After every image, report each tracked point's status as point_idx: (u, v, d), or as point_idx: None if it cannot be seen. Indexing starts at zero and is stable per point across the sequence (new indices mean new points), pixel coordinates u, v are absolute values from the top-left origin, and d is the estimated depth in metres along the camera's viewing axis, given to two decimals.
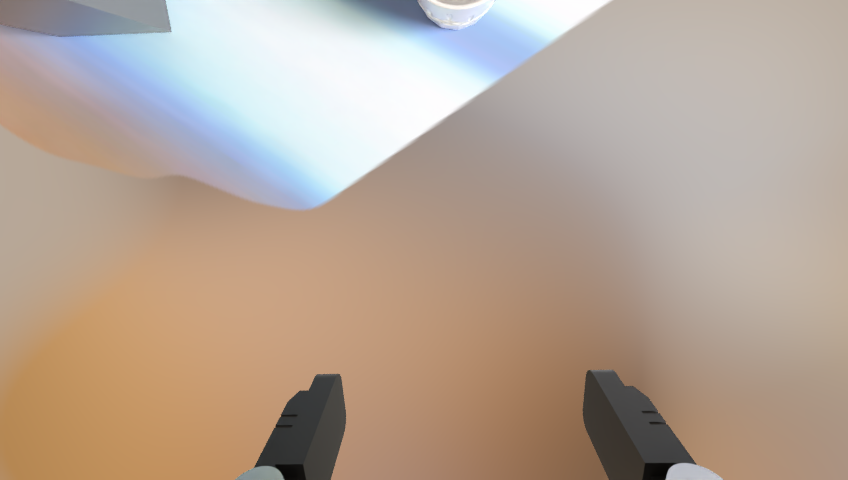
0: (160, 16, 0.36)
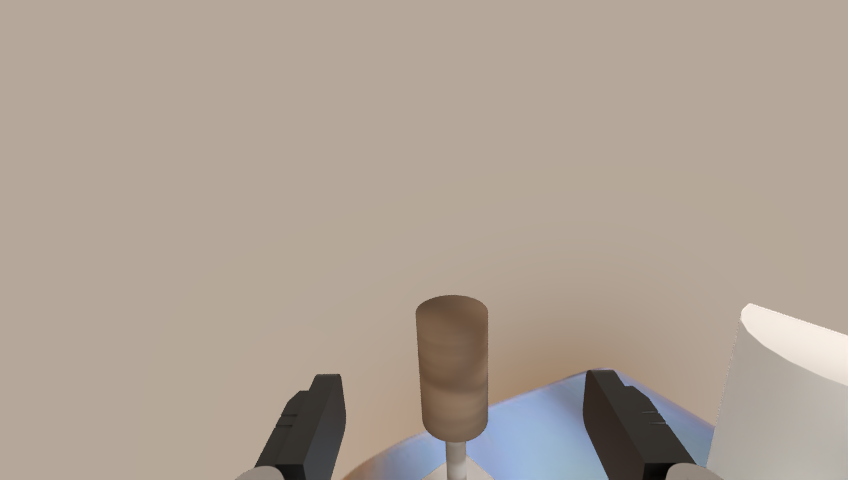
0: None
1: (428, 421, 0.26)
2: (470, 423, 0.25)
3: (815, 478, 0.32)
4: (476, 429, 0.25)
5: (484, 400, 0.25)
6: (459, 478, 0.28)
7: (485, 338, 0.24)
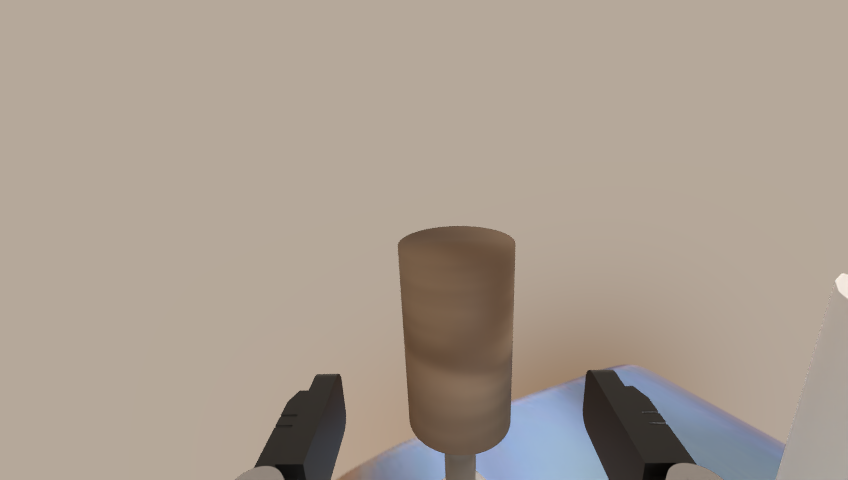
0: None
1: (417, 421, 0.16)
2: (485, 424, 0.15)
3: None
4: (494, 434, 0.16)
5: (507, 388, 0.16)
6: None
7: (511, 284, 0.15)
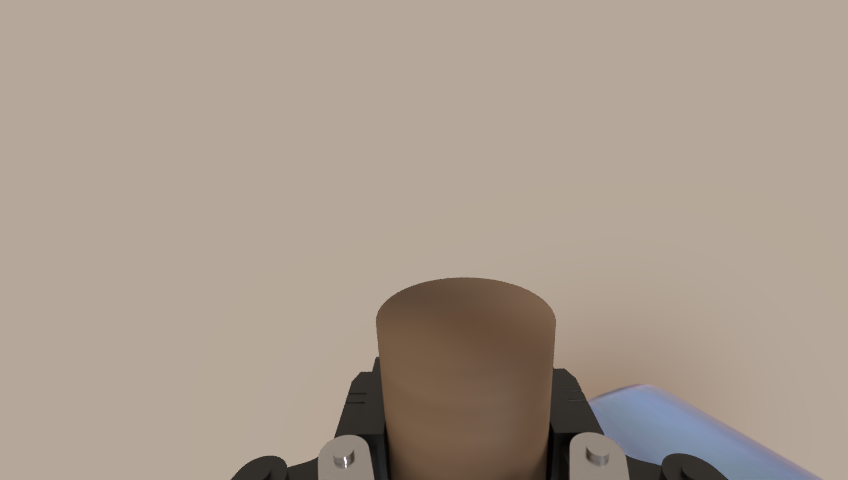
0: None
1: None
2: None
3: None
4: None
5: None
6: None
7: (550, 381, 0.09)
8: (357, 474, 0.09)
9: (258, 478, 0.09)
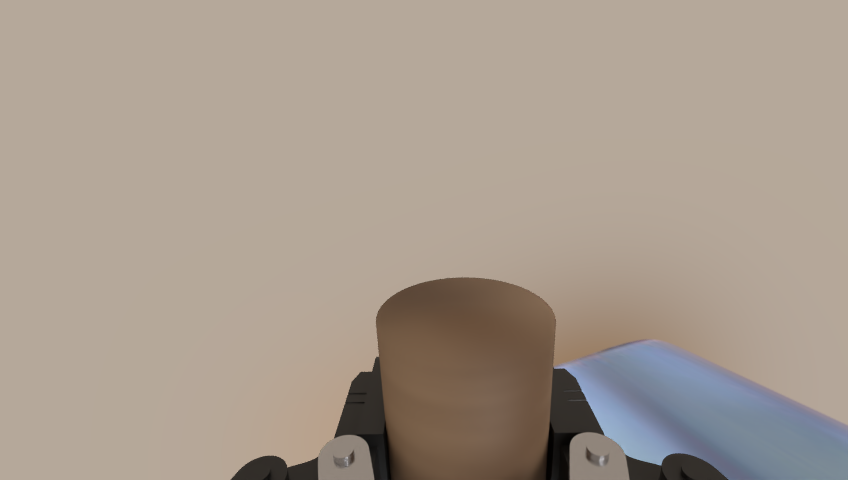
0: None
1: None
2: None
3: None
4: None
5: None
6: None
7: (550, 381, 0.09)
8: (357, 474, 0.09)
9: (258, 478, 0.09)
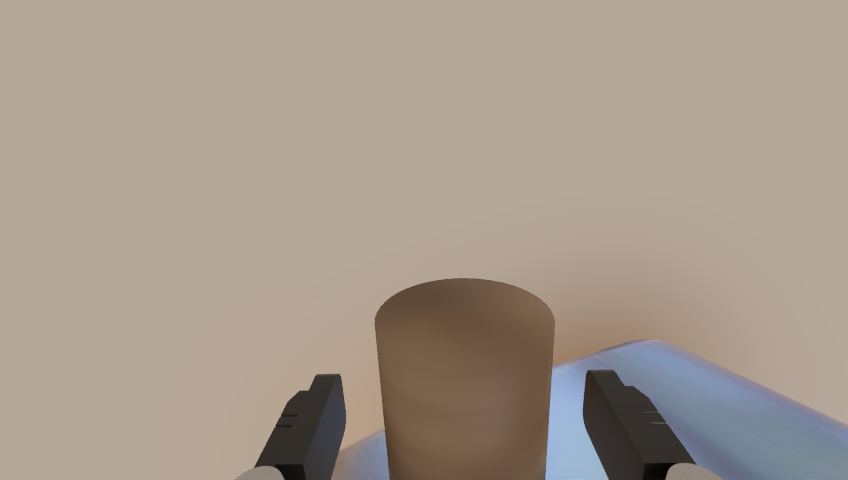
0: None
1: None
2: None
3: None
4: None
5: None
6: None
7: (549, 383, 0.09)
8: None
9: None
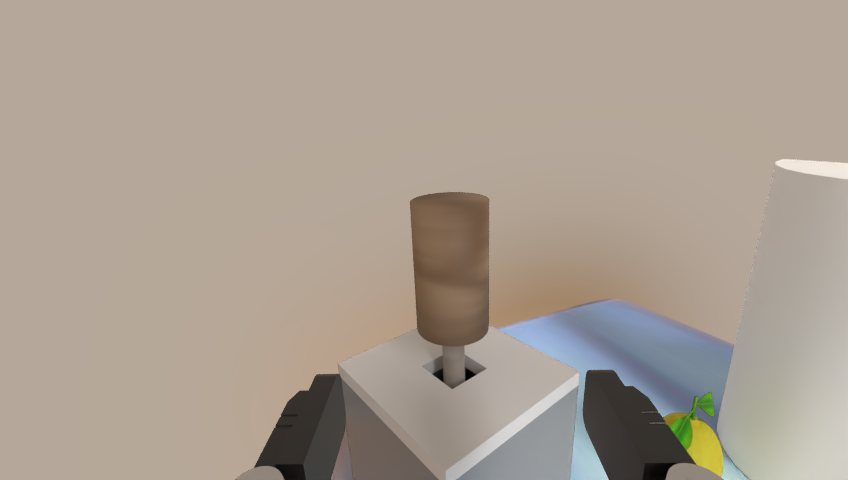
0: None
1: (423, 325, 0.23)
2: (469, 324, 0.23)
3: None
4: (476, 333, 0.23)
5: (485, 301, 0.23)
6: None
7: (486, 227, 0.22)
8: None
9: None
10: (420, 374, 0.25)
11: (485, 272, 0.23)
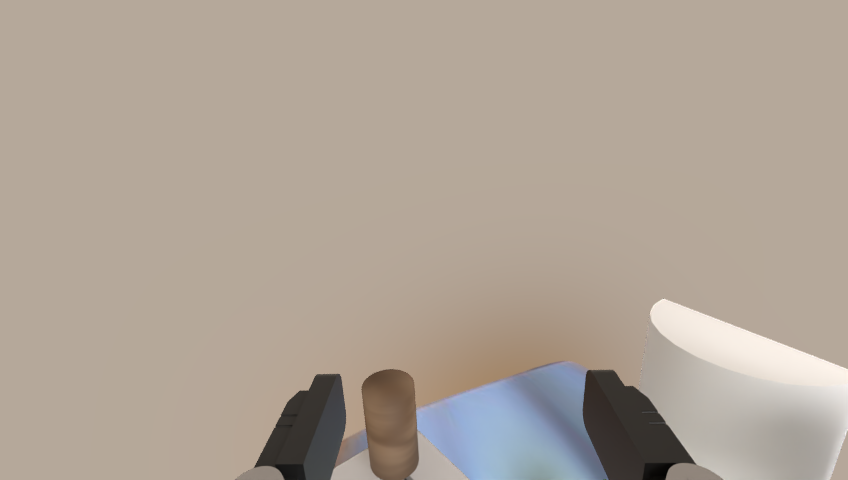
0: None
1: (372, 464, 0.35)
2: (402, 467, 0.34)
3: (696, 442, 0.39)
4: (407, 471, 0.34)
5: (413, 450, 0.34)
6: None
7: (411, 406, 0.33)
8: None
9: None
10: None
11: (412, 432, 0.34)
